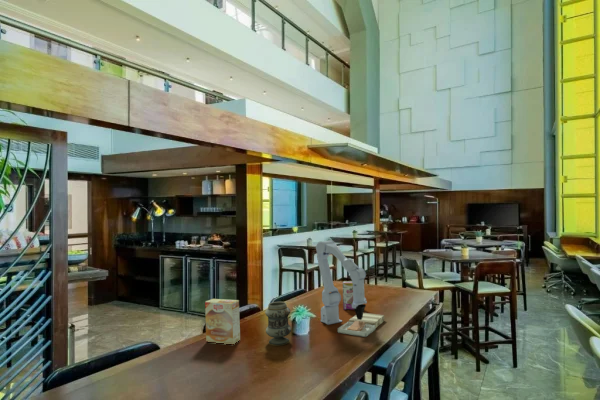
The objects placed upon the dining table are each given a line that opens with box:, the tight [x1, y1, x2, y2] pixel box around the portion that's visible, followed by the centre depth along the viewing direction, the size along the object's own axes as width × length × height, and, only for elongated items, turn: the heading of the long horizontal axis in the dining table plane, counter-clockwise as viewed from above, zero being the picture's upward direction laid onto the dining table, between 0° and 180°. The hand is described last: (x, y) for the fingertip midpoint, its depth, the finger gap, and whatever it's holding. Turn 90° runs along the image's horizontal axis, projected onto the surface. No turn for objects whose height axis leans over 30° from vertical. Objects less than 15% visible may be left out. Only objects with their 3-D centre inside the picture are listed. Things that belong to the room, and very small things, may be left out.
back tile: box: [351, 321, 365, 330], centre depth 186 cm, size 5×5×2 cm
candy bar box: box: [342, 280, 355, 311], centre depth 226 cm, size 11×5×16 cm, turn 84°
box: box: [337, 321, 376, 338], centre depth 184 cm, size 13×15×2 cm
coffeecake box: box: [204, 298, 241, 345], centre depth 177 cm, size 15×7×20 cm, turn 70°
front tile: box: [347, 326, 361, 331], centre depth 181 cm, size 5×5×2 cm
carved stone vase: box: [264, 301, 292, 347], centre depth 173 cm, size 12×12×18 cm
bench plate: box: [348, 312, 385, 329], centre depth 196 cm, size 15×14×3 cm
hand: (359, 319), depth 188 cm, fingers closed
